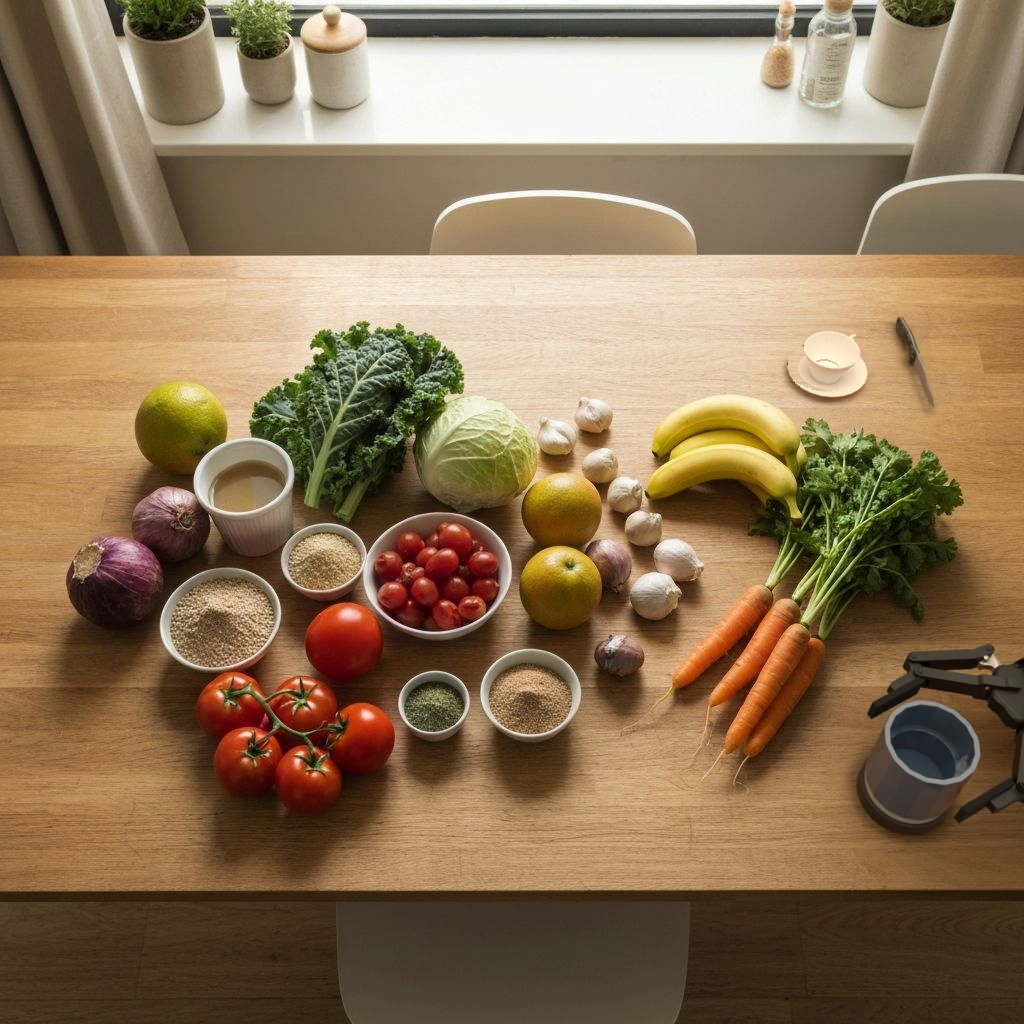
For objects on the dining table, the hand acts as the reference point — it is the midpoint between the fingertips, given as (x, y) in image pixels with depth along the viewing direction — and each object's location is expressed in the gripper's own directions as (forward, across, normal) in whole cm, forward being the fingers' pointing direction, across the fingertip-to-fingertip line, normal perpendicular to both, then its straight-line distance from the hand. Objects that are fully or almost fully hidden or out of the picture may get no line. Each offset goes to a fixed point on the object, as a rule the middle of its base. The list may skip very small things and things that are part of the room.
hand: (914, 761), depth 114 cm
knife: (-49, +52, -10) cm, 73 cm away
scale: (-2, 0, -10) cm, 10 cm away
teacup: (-37, +58, -10) cm, 69 cm away
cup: (-2, 0, -7) cm, 7 cm away
